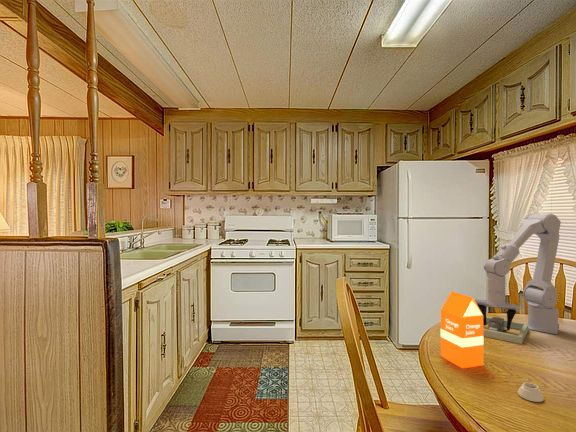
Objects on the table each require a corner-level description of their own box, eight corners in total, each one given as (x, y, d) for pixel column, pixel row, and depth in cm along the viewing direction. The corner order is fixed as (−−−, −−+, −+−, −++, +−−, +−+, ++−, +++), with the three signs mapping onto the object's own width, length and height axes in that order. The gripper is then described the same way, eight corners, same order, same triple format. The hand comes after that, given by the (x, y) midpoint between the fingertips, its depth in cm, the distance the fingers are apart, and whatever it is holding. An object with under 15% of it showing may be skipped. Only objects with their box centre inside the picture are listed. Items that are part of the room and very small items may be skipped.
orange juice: (462, 368, 95) (462, 298, 95) (440, 355, 104) (440, 291, 104) (484, 365, 97) (484, 296, 97) (460, 353, 106) (460, 290, 106)
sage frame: (528, 330, 126) (528, 324, 126) (521, 344, 113) (521, 337, 113) (475, 320, 138) (475, 314, 138) (463, 332, 125) (463, 325, 125)
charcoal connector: (505, 328, 129) (505, 318, 129) (498, 337, 119) (498, 326, 119) (493, 326, 132) (493, 316, 131) (486, 335, 122) (486, 324, 122)
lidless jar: (549, 403, 78) (532, 391, 83) (549, 390, 78) (532, 380, 83) (528, 403, 78) (513, 392, 83) (528, 391, 78) (513, 380, 83)
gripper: (472, 290, 128) (472, 325, 128) (518, 296, 118) (518, 334, 118) (476, 287, 133) (476, 321, 133) (520, 292, 123) (520, 329, 124)
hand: (496, 327), depth 126 cm, fingers open, 7 cm apart
